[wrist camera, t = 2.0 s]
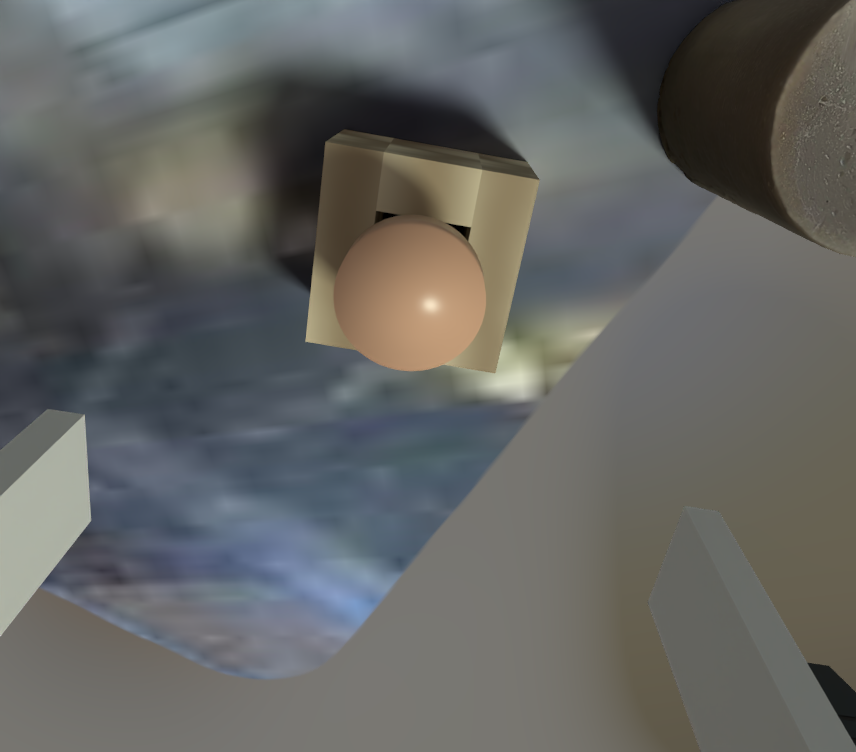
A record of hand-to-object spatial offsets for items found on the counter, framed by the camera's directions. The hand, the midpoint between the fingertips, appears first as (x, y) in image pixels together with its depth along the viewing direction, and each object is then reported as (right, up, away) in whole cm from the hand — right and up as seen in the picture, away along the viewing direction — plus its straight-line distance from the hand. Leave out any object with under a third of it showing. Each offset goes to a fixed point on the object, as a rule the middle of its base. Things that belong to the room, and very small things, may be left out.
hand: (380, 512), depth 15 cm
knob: (+1, +9, +21) cm, 23 cm away
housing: (+1, +11, +24) cm, 27 cm away
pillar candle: (+18, +17, +21) cm, 33 cm away
